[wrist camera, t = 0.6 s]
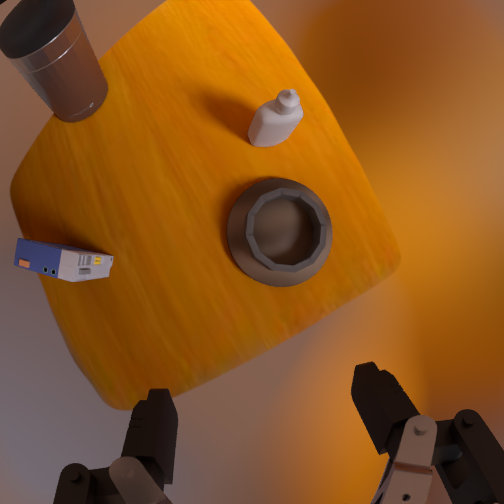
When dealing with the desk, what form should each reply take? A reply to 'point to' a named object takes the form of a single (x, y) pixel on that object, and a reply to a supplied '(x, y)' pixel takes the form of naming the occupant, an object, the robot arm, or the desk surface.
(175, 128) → the desk surface
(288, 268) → the bottle collar
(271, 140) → the eye dropper bottle
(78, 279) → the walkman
